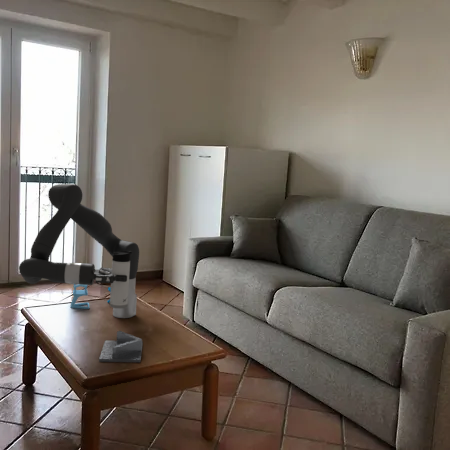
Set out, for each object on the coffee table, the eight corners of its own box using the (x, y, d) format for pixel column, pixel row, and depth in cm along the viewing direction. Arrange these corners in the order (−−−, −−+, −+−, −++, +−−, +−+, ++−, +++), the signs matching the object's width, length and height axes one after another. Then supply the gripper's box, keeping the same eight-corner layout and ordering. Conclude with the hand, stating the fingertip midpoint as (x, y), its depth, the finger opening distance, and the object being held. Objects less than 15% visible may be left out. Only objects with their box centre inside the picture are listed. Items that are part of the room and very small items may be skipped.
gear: (123, 302, 243) (109, 287, 243) (114, 311, 243) (99, 295, 242) (125, 299, 254) (111, 284, 254) (115, 307, 254) (101, 292, 253)
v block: (98, 361, 177) (99, 347, 176) (105, 343, 195) (105, 330, 194) (140, 362, 179) (140, 348, 178) (142, 343, 196) (143, 331, 196)
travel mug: (129, 308, 183) (132, 253, 181) (110, 308, 181) (113, 252, 179) (127, 303, 189) (130, 249, 187) (109, 303, 187) (112, 249, 185)
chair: (70, 304, 241) (70, 279, 239) (88, 304, 243) (89, 279, 241) (70, 309, 233) (70, 283, 232) (89, 309, 236) (90, 283, 234)
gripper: (76, 267, 175) (126, 270, 177) (83, 259, 189) (130, 262, 191) (75, 289, 176) (125, 291, 177) (82, 279, 190) (129, 281, 192)
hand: (127, 276), depth 184 cm, fingers closed on travel mug, 6 cm apart
